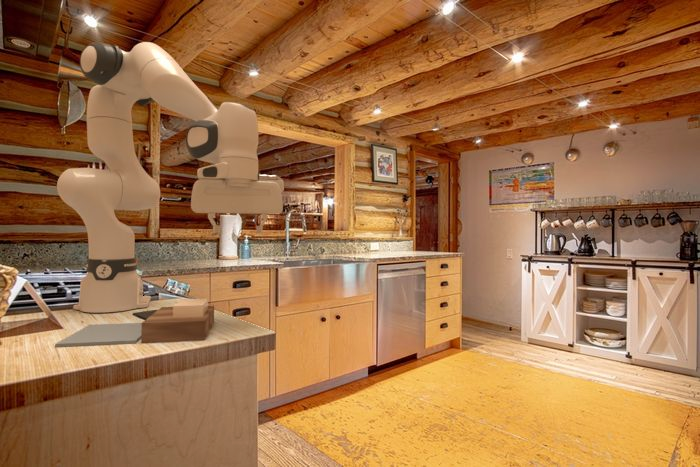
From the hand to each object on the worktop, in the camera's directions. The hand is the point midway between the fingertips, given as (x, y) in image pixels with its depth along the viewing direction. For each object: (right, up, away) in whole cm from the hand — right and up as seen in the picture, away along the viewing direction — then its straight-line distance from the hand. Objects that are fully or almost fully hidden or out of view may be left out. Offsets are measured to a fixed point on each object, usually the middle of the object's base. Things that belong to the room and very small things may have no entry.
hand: (238, 233), depth 87 cm
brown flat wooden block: (-12, -22, -2) cm, 25 cm away
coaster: (-10, -17, -2) cm, 20 cm away
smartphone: (-25, -22, +11) cm, 35 cm away
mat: (-26, -22, -6) cm, 34 cm away
